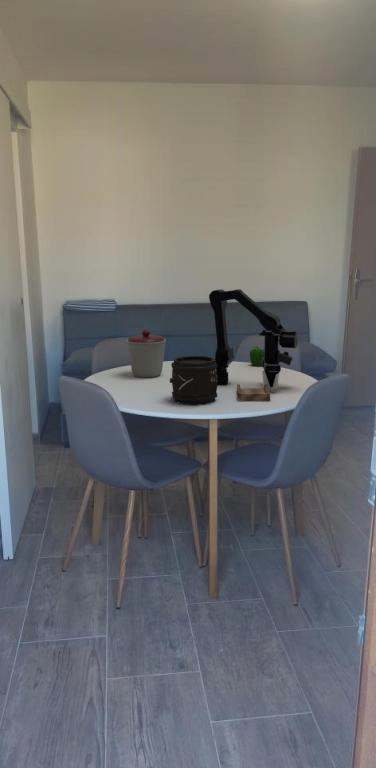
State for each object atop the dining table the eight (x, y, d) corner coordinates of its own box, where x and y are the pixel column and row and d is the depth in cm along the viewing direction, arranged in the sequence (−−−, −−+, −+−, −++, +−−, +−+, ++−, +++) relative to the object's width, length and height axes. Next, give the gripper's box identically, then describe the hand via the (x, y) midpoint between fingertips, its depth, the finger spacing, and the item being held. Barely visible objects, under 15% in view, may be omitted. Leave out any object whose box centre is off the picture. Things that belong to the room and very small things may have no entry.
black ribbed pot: (169, 394, 234) (168, 355, 230) (214, 393, 235) (214, 354, 231) (171, 406, 216) (170, 364, 213) (219, 405, 217) (219, 363, 214)
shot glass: (278, 390, 240) (278, 373, 238) (261, 389, 241) (261, 372, 239) (279, 386, 246) (279, 369, 245) (262, 385, 247) (263, 369, 246)
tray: (238, 401, 223) (238, 393, 222) (236, 391, 238) (236, 384, 238) (270, 401, 222) (270, 394, 222) (266, 391, 238) (266, 384, 237)
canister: (151, 381, 257) (150, 333, 253) (119, 377, 267) (117, 330, 262) (174, 374, 272) (173, 328, 268) (142, 370, 282) (141, 326, 277)
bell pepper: (264, 363, 295) (265, 344, 292) (267, 367, 287) (268, 346, 284) (248, 364, 294) (248, 344, 292) (250, 367, 286) (251, 347, 284)
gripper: (294, 350, 230) (292, 389, 234) (288, 343, 248) (287, 379, 252) (265, 350, 231) (264, 389, 234) (262, 343, 249) (261, 379, 252)
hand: (270, 384), depth 243 cm, fingers open, 9 cm apart
